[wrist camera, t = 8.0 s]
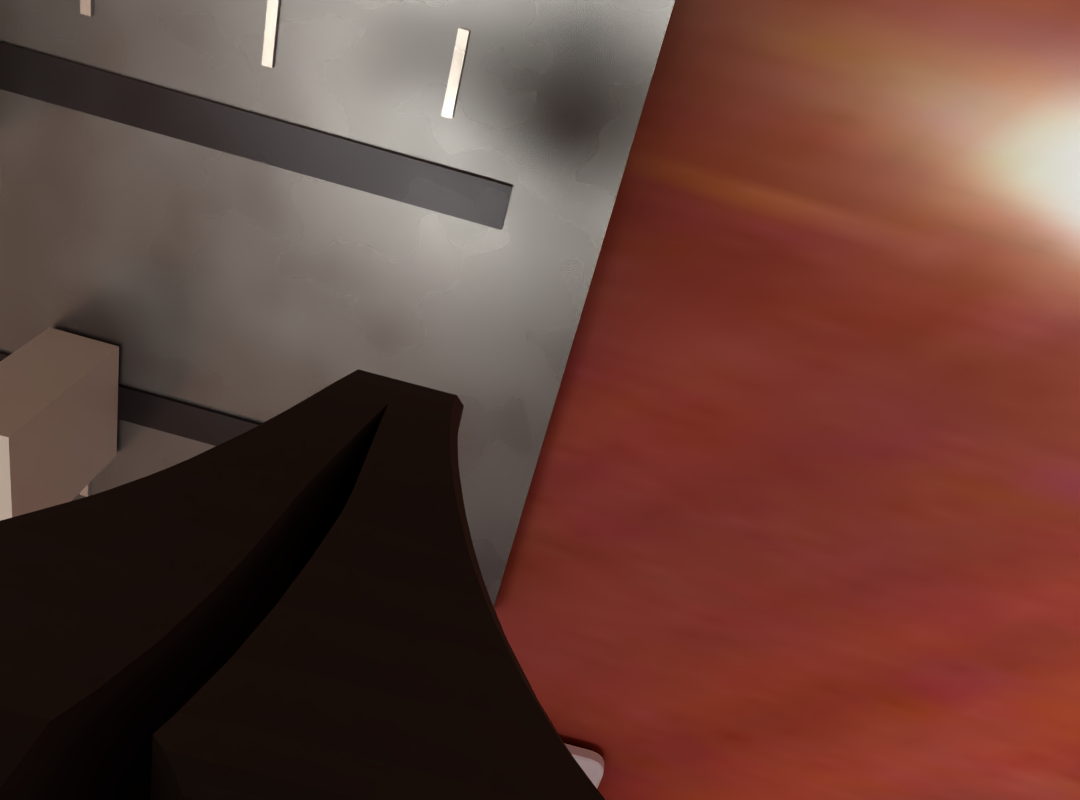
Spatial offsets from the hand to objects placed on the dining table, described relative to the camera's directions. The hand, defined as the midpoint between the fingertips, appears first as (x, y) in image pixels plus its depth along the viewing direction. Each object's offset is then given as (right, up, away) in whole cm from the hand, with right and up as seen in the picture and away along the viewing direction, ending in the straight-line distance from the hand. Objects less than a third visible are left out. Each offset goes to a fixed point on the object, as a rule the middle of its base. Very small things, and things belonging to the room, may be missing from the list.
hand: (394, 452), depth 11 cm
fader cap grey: (-9, +1, +10) cm, 13 cm away
